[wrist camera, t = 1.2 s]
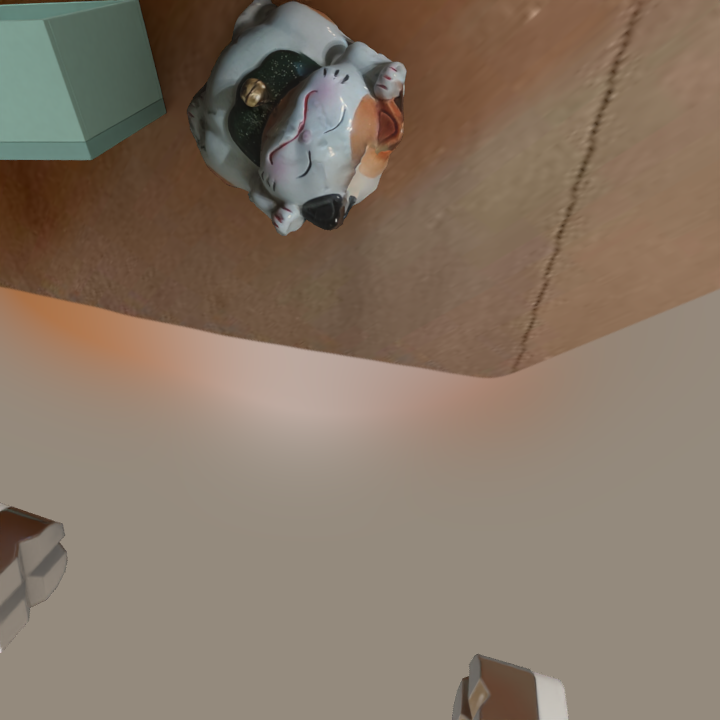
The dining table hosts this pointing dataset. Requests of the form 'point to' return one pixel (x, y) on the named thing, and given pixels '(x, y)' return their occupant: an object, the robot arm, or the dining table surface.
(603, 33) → the dining table surface
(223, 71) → the lucky cat figurine
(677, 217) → the dining table surface
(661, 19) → the dining table surface
